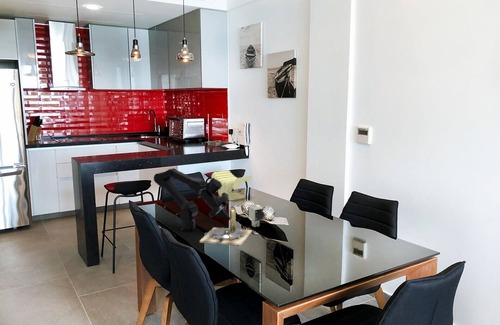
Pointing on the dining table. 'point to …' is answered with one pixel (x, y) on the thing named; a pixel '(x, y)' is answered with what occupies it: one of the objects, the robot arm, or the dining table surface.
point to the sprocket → (228, 230)
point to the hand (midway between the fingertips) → (229, 219)
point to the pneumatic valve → (255, 215)
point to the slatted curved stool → (230, 183)
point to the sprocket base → (227, 242)
